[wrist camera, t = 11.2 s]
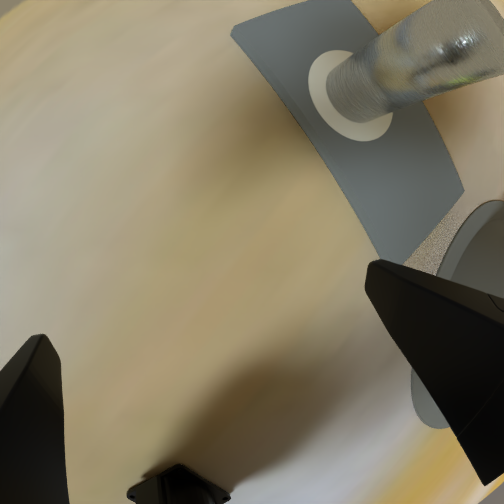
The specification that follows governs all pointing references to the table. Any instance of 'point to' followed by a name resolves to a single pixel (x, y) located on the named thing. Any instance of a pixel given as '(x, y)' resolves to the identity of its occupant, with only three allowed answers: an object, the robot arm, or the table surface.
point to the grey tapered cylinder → (468, 280)
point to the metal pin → (420, 59)
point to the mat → (355, 124)
